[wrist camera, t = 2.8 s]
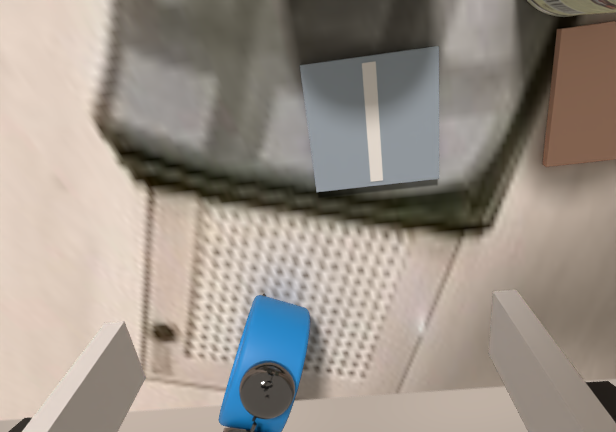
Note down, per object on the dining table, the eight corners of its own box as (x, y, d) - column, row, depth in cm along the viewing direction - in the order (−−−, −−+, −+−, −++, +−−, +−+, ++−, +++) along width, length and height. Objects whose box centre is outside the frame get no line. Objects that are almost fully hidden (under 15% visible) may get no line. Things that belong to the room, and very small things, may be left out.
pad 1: (300, 65, 37) (299, 65, 36) (436, 45, 35) (439, 46, 35) (316, 189, 42) (316, 192, 41) (437, 176, 40) (439, 178, 40)
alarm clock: (262, 270, 46) (236, 372, 32) (315, 285, 46) (310, 392, 33) (235, 354, 51) (203, 471, 38) (283, 366, 52) (267, 487, 38)
